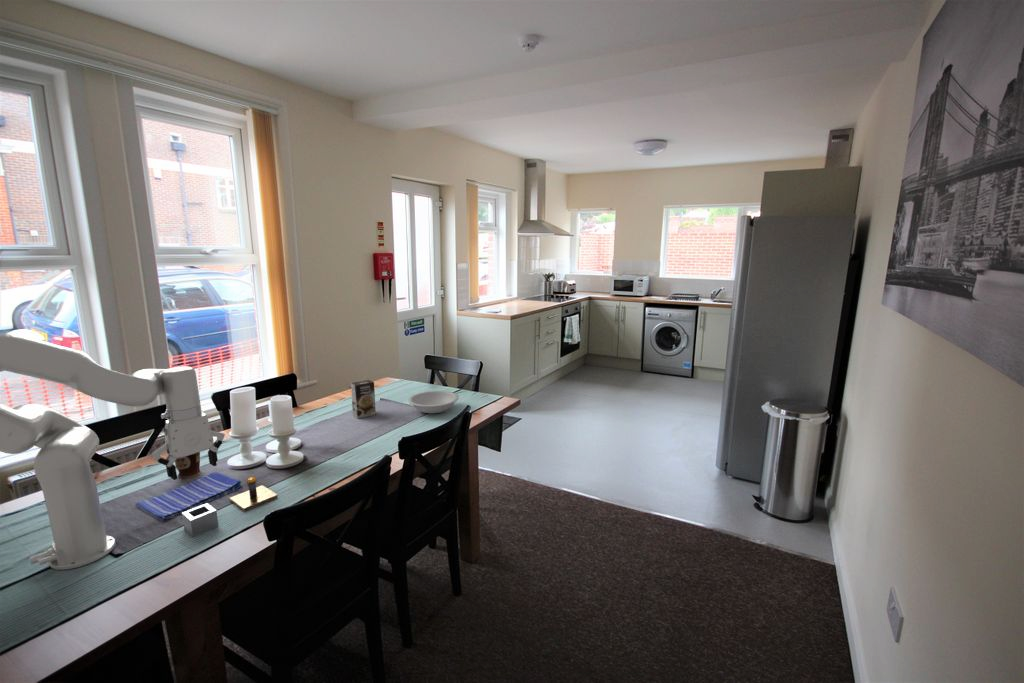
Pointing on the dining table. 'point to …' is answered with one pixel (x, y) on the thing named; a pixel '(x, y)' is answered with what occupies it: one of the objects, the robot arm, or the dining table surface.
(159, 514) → the dish towel
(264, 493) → the post
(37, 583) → the dining table surface
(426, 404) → the soup bowl
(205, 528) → the white box block
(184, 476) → the coffee cup
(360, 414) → the coffee box
